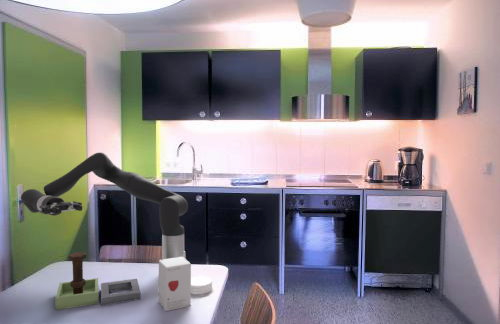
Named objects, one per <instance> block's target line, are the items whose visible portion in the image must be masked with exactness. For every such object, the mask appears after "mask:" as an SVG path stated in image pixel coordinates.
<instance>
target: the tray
mask: <svg viewBox="0 0 500 324" xmlns="http://www.w3.org/2000/svg"><path fill="white" fill-rule="evenodd" d="M85 281H86V284H85V285H84V286H83V293H81V294H73V288H72V287H71V286H70V282H71V281H64V282H59V283H58V288H57V291H56V295H55V298H54V299H55V301H54V303H55V311H57V310H58V311H60V310H64V309H70V308H76V307H77V308H78V307H83V306H89V305H97V304H99V278H98V277H95V278H89V279H87V278H86V279H85Z"/></svg>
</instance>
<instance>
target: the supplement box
mask: <svg viewBox="0 0 500 324" xmlns="http://www.w3.org/2000/svg"><path fill="white" fill-rule="evenodd" d="M191 266H192V264H191V263H190V261H188V260H187V258H186V259H185V258H184V257H176V258H169V259H163V260H162V259H159V260H158V303H159V304H160V305H161V307H162V308H163V310H164V311H165V312H168V311H173V310H177V309H182V308H187V307H190V306H191V303H192V302H191V300H192V299H191V296H192V295H191V278H192V267H191Z"/></svg>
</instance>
